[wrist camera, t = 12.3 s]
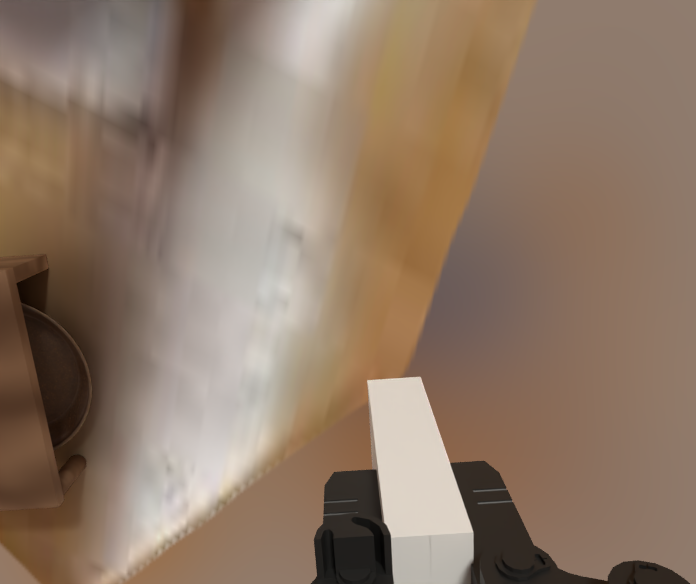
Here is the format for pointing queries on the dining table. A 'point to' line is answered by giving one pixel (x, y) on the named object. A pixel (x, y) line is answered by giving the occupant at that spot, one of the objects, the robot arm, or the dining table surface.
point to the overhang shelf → (25, 406)
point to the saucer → (59, 375)
